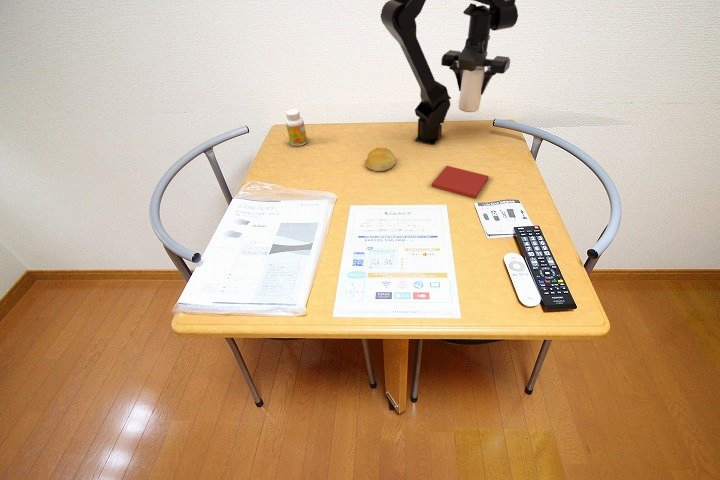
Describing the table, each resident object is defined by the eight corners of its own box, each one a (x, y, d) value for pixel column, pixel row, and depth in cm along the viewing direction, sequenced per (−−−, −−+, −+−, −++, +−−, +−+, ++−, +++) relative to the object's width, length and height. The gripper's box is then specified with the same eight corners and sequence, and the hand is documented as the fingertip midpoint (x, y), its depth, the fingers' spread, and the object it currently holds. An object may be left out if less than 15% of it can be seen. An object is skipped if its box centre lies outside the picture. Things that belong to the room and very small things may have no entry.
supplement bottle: (287, 145, 115) (279, 114, 108) (296, 137, 118) (289, 107, 111) (301, 147, 113) (295, 116, 106) (310, 139, 117) (304, 109, 110)
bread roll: (363, 171, 102) (362, 158, 99) (369, 155, 108) (369, 143, 105) (392, 173, 101) (392, 160, 98) (397, 157, 107) (397, 144, 104)
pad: (431, 186, 96) (431, 183, 95) (446, 168, 102) (446, 165, 101) (475, 198, 91) (475, 195, 90) (488, 179, 97) (488, 175, 96)
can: (478, 113, 111) (486, 70, 102) (457, 111, 112) (463, 69, 103) (479, 104, 115) (486, 63, 107) (458, 103, 116) (464, 62, 108)
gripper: (435, 37, 98) (431, 97, 109) (503, 44, 91) (492, 107, 102) (451, 27, 104) (446, 84, 115) (516, 33, 97) (504, 93, 109)
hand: (471, 92), depth 110 cm, fingers closed on can, 6 cm apart
